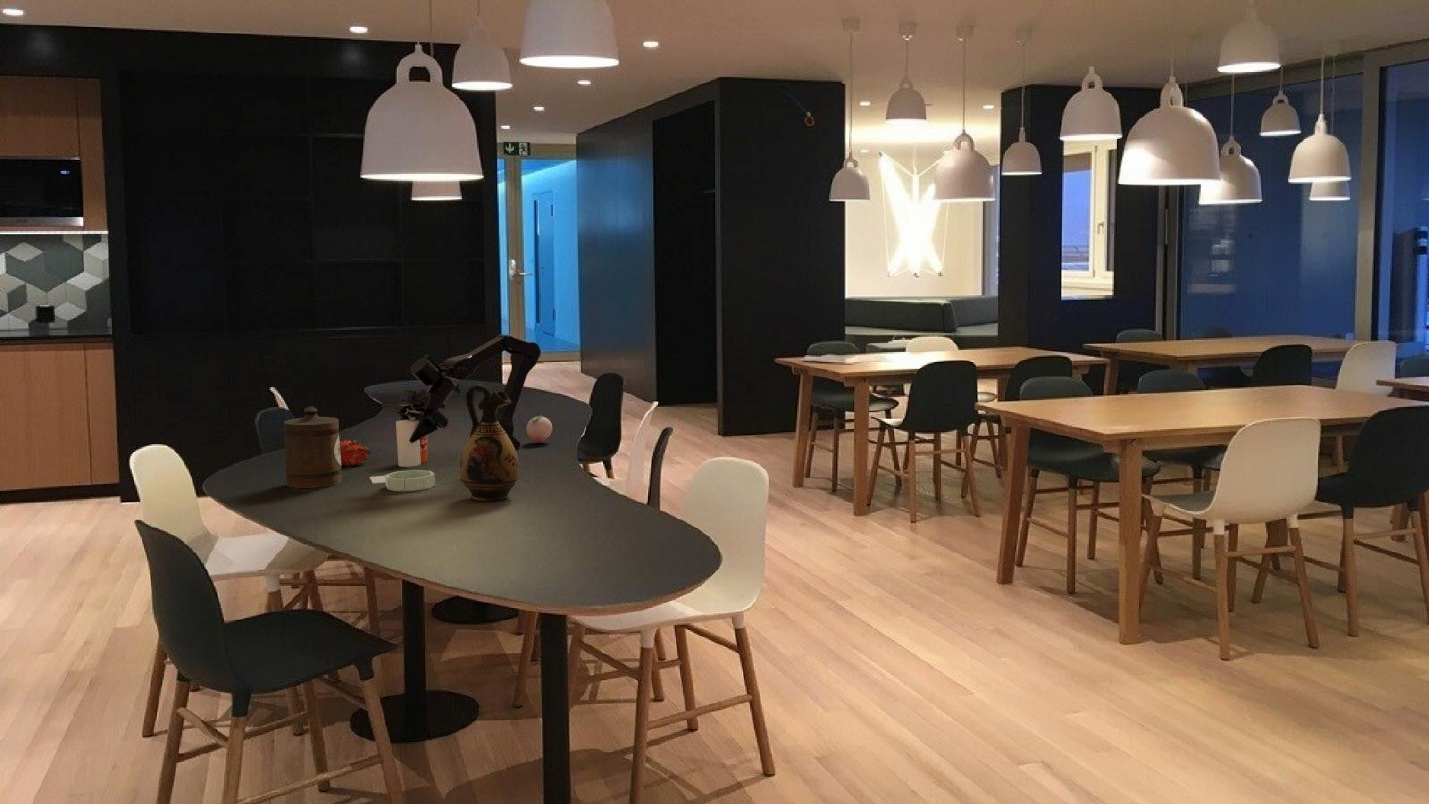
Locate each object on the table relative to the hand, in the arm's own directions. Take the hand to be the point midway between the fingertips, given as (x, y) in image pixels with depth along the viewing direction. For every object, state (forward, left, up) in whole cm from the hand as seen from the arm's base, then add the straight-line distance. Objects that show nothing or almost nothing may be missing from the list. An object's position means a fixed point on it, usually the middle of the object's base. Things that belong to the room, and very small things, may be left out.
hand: (404, 440), depth 341 cm
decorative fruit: (+1, -77, -13) cm, 78 cm away
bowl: (-1, -1, -13) cm, 13 cm away
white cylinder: (-1, -1, -7) cm, 7 cm away
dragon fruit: (+37, -25, -13) cm, 47 cm away
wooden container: (+28, +3, -13) cm, 32 cm away
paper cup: (+20, -35, -13) cm, 43 cm away
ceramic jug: (-29, +4, -13) cm, 32 cm away
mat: (+12, -9, -13) cm, 20 cm away
